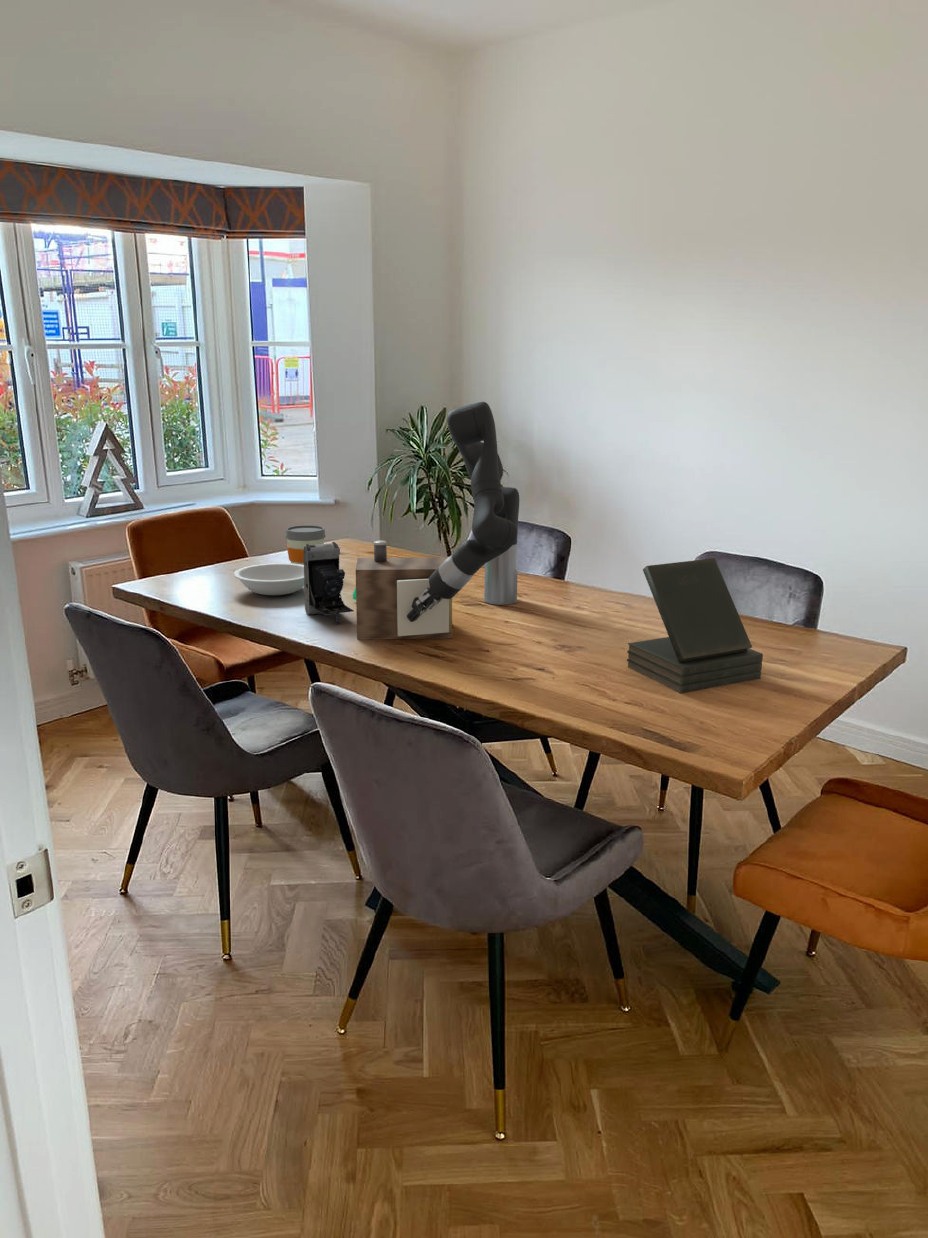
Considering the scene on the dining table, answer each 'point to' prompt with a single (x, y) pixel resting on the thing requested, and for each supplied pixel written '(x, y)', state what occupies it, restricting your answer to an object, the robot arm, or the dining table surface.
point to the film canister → (380, 551)
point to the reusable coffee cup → (302, 540)
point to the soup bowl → (272, 578)
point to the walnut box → (387, 594)
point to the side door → (429, 620)
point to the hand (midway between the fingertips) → (410, 618)
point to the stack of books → (695, 631)
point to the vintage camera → (323, 580)
